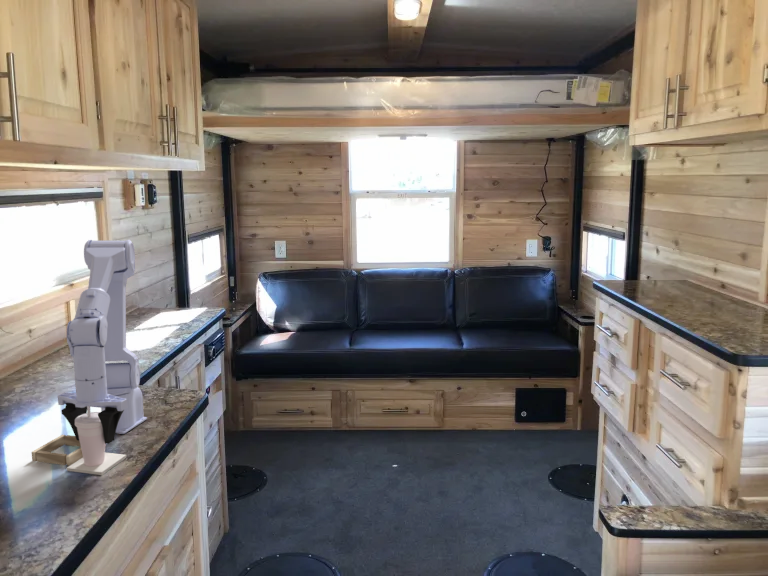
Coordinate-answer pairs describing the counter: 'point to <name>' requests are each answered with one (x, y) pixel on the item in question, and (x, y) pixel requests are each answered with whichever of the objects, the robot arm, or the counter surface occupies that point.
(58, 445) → the collar
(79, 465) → the coaster pad
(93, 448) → the smoothie
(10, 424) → the counter surface
